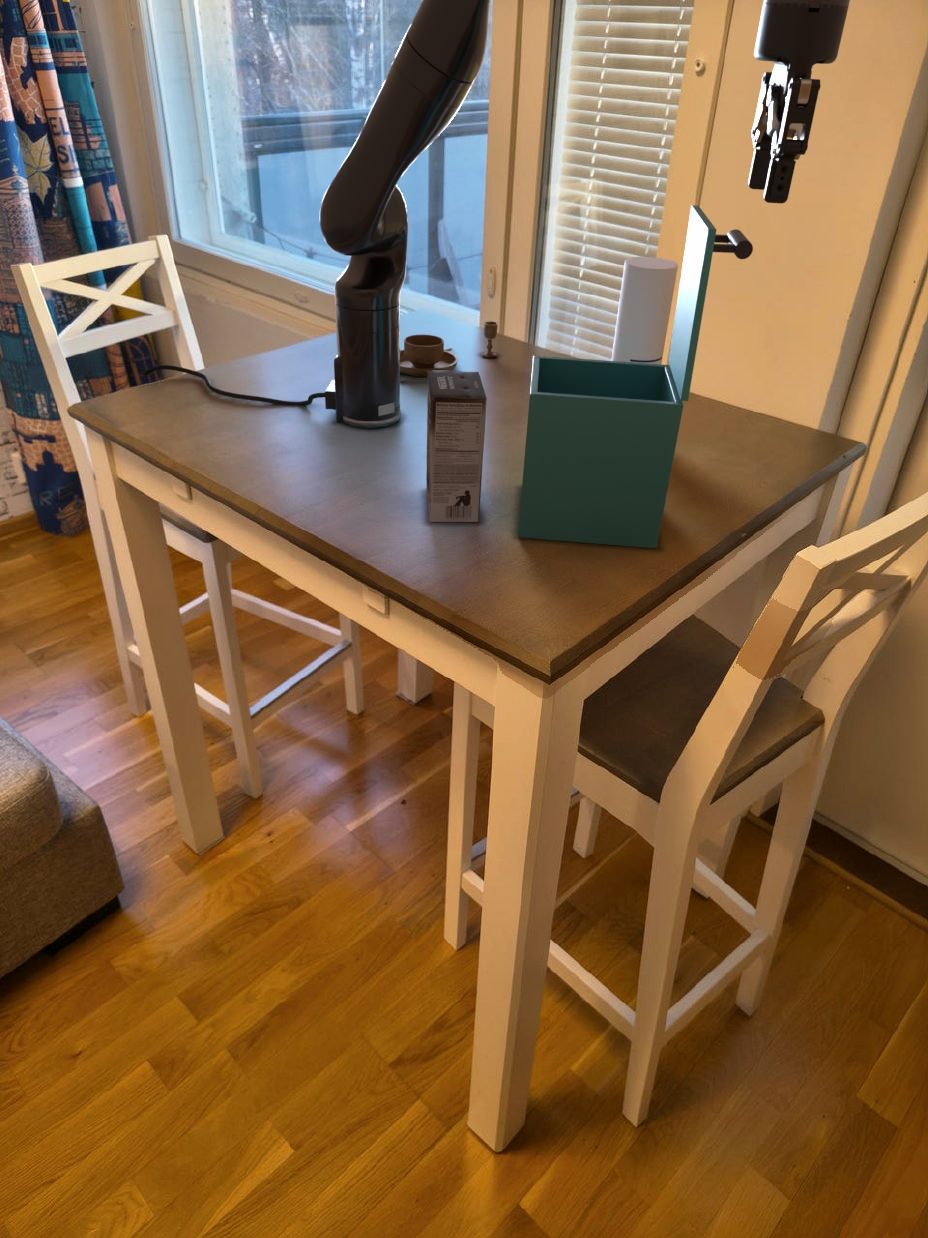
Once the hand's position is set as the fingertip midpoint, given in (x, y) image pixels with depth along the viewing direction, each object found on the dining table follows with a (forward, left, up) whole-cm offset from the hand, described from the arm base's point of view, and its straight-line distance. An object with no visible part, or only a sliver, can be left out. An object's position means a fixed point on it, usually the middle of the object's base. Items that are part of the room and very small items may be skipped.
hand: (766, 195), depth 90 cm
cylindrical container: (-7, +27, -38) cm, 47 cm away
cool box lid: (-6, 0, -11) cm, 13 cm away
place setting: (-37, +54, -38) cm, 75 cm away
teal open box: (-14, 0, -38) cm, 40 cm away
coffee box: (-31, 0, -38) cm, 49 cm away
